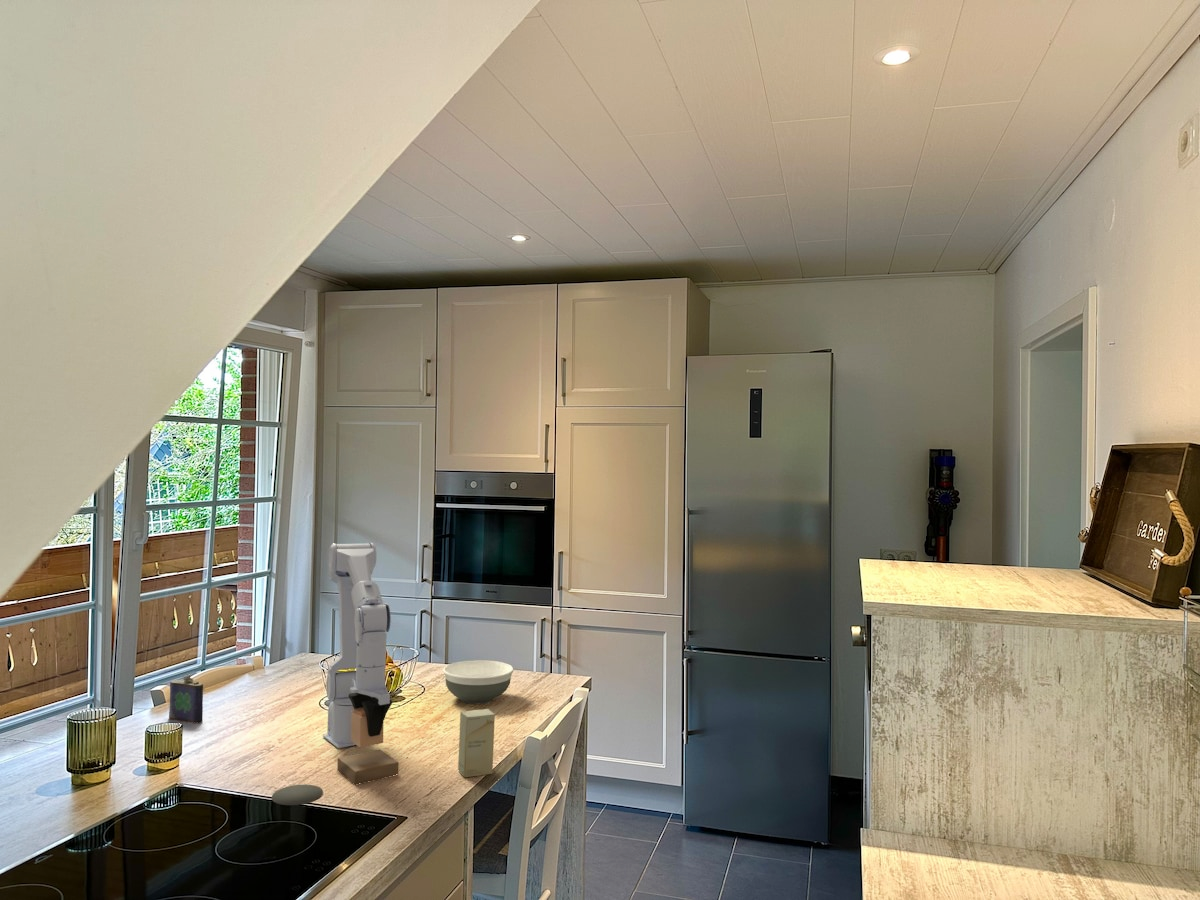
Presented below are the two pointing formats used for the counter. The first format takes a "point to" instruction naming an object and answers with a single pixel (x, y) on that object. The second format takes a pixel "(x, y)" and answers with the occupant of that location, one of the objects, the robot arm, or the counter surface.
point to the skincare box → (476, 742)
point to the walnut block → (367, 766)
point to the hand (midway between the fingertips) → (368, 731)
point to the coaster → (297, 794)
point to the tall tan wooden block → (362, 730)
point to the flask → (186, 700)
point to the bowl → (477, 680)
